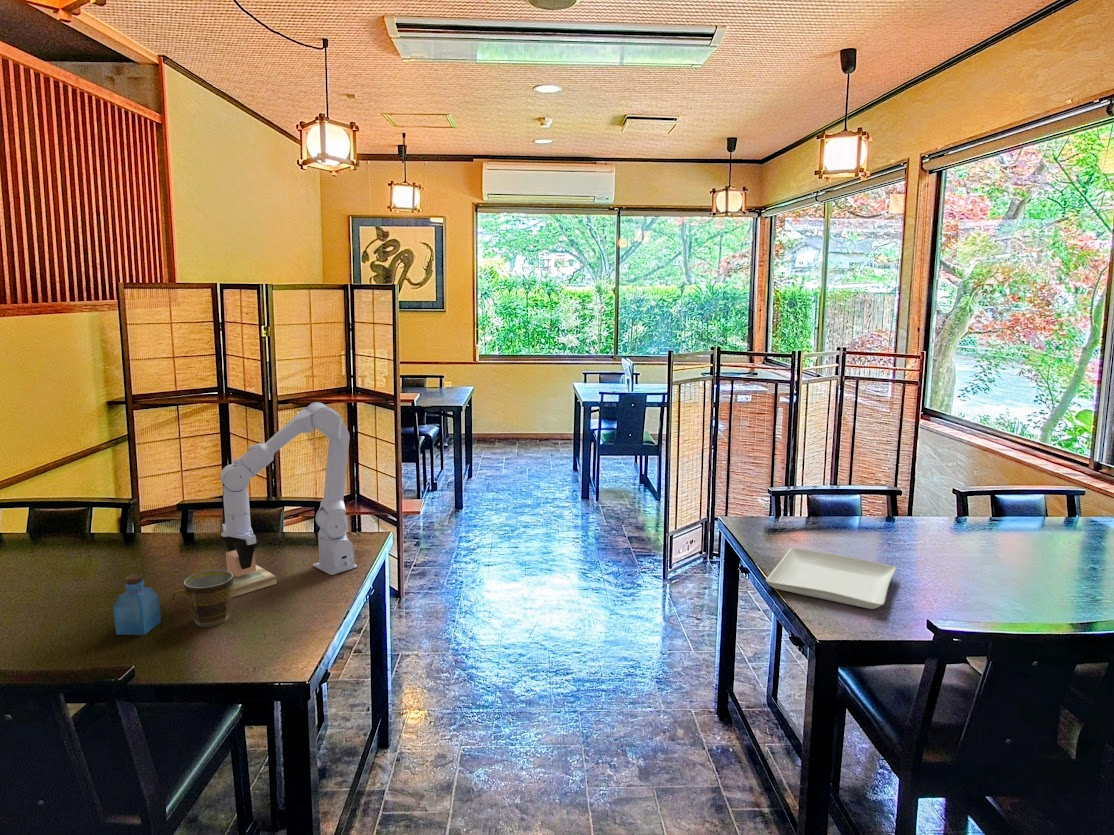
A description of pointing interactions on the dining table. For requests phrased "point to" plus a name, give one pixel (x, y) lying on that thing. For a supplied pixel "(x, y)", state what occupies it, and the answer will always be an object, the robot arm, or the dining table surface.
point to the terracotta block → (238, 564)
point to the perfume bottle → (136, 608)
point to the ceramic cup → (208, 596)
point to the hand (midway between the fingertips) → (241, 564)
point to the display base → (252, 581)
